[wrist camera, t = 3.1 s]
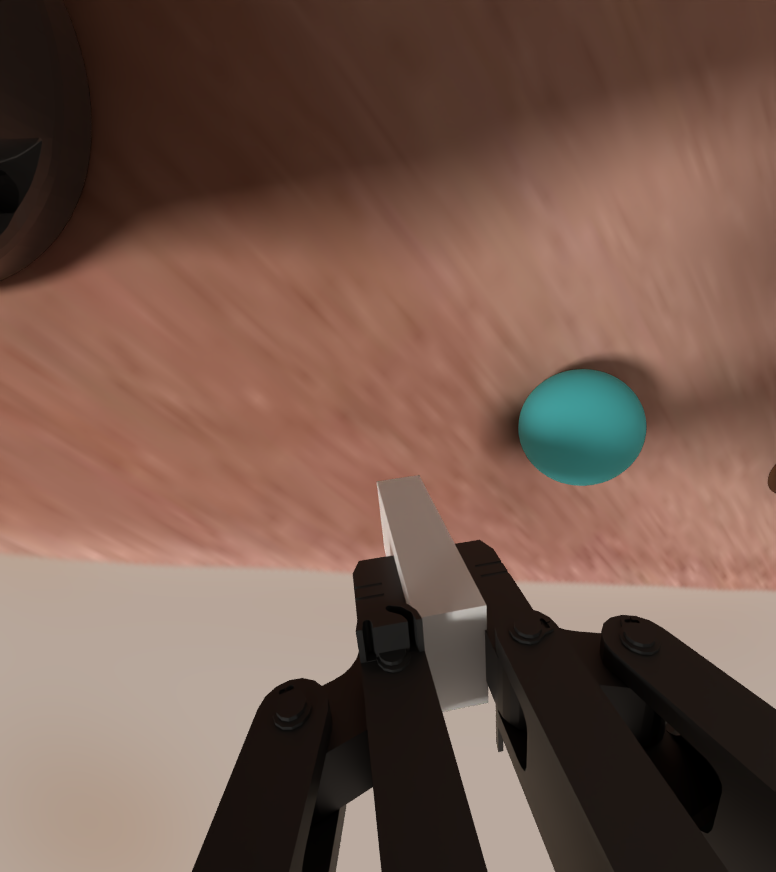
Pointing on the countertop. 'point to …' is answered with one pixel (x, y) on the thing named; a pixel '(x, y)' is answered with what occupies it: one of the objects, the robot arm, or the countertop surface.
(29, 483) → the countertop surface
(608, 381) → the ball
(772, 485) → the post outer
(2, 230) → the robot arm
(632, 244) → the countertop surface
